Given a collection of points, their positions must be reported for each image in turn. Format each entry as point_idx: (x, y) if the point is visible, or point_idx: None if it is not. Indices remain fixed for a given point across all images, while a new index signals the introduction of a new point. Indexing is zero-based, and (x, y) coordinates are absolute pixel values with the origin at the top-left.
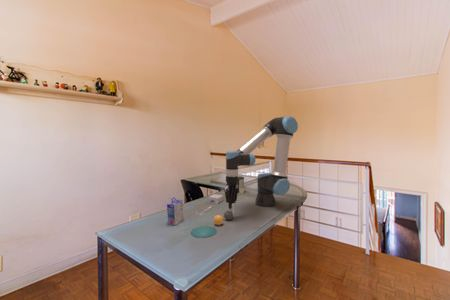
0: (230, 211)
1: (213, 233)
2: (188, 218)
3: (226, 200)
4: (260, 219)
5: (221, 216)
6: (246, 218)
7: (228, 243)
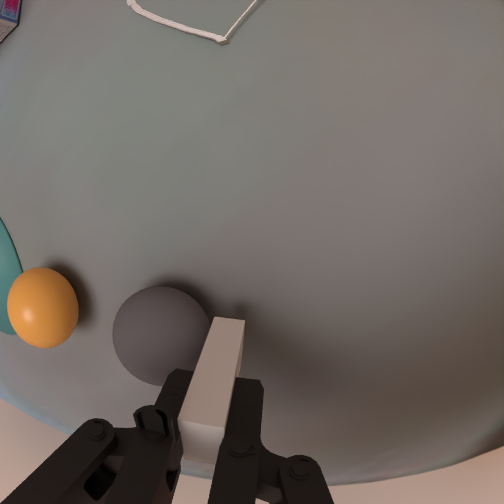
0: (162, 382)
1: (5, 326)
2: (38, 22)
3: (68, 447)
4: (322, 461)
5: (40, 344)
6: (296, 410)
7: (27, 400)
